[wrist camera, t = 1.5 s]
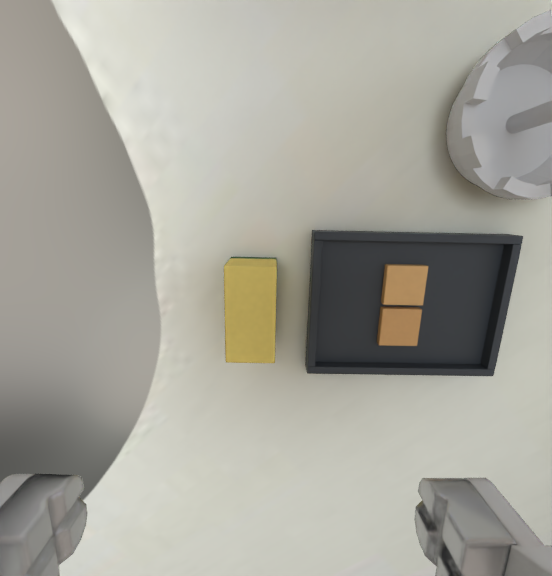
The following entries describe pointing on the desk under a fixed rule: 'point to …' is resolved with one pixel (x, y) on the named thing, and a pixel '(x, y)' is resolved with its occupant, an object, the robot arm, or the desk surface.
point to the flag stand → (508, 116)
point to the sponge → (250, 309)
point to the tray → (435, 310)
